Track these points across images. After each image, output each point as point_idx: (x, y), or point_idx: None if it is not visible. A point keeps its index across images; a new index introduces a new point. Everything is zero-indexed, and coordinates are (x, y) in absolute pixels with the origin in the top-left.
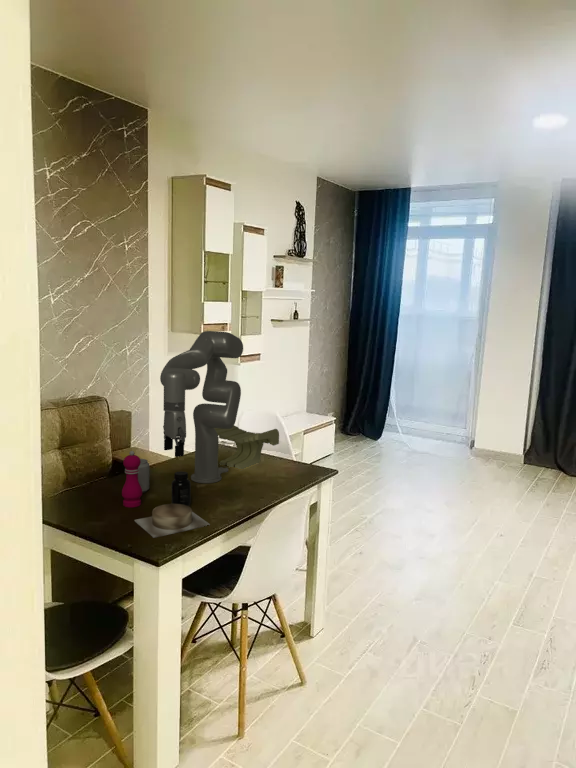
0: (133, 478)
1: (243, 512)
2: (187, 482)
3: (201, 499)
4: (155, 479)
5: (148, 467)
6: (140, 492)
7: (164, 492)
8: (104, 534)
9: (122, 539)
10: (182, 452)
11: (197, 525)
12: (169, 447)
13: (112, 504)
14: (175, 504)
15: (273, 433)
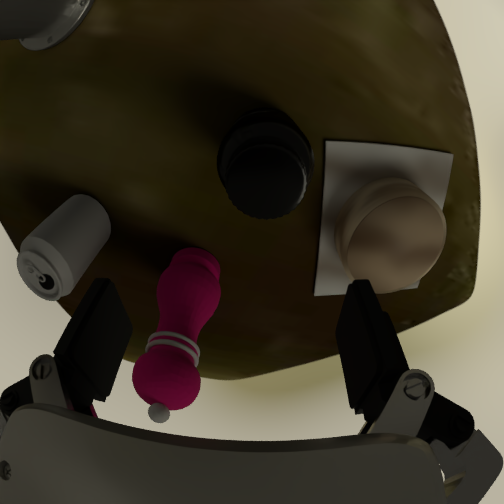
0: (197, 334)
1: (425, 17)
2: (306, 150)
3: (243, 51)
4: (21, 155)
5: (56, 241)
6: (210, 282)
7: (119, 153)
8: None
9: None
10: (389, 320)
11: (441, 185)
12: (114, 316)
13: None
14: (368, 222)
15: None
